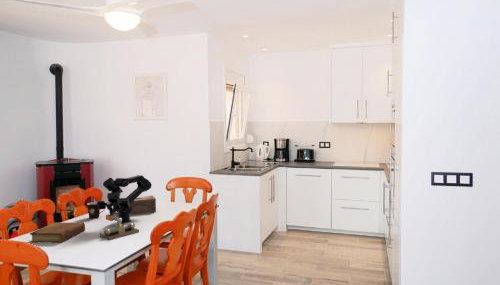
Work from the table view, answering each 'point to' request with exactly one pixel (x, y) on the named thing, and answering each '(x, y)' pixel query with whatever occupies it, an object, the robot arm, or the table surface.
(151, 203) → the tissue box cover
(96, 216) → the coffee mug
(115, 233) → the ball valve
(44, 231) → the diary
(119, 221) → the valve lever
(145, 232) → the table surface
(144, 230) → the table surface
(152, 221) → the table surface
